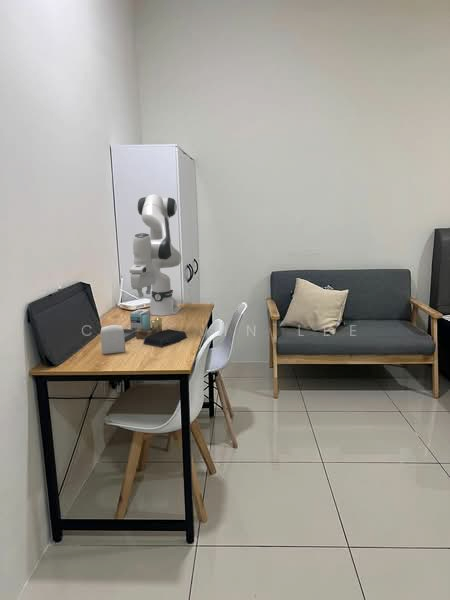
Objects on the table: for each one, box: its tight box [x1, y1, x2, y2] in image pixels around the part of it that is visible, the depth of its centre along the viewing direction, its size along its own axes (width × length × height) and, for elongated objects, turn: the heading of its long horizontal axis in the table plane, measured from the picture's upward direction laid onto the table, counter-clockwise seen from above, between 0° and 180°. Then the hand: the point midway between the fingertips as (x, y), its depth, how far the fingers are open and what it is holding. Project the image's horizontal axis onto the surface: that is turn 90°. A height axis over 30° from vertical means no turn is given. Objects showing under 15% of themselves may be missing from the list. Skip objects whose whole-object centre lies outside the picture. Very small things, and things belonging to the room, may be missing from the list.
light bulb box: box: [129, 308, 152, 330], centre depth 238 cm, size 11×7×11 cm, turn 164°
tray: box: [123, 328, 137, 343], centre depth 227 cm, size 14×9×2 cm, turn 164°
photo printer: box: [100, 324, 126, 355], centre depth 203 cm, size 10×4×12 cm, turn 105°
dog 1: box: [150, 319, 158, 332], centre depth 232 cm, size 3×3×7 cm
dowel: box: [142, 315, 151, 331], centre depth 226 cm, size 4×4×11 cm
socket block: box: [135, 327, 157, 340], centre depth 227 cm, size 8×8×4 cm
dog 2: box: [154, 317, 163, 332], centre depth 237 cm, size 3×3×7 cm
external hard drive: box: [142, 328, 188, 349], centre depth 220 cm, size 13×19×4 cm
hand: (144, 295), depth 223 cm, fingers open, 7 cm apart
